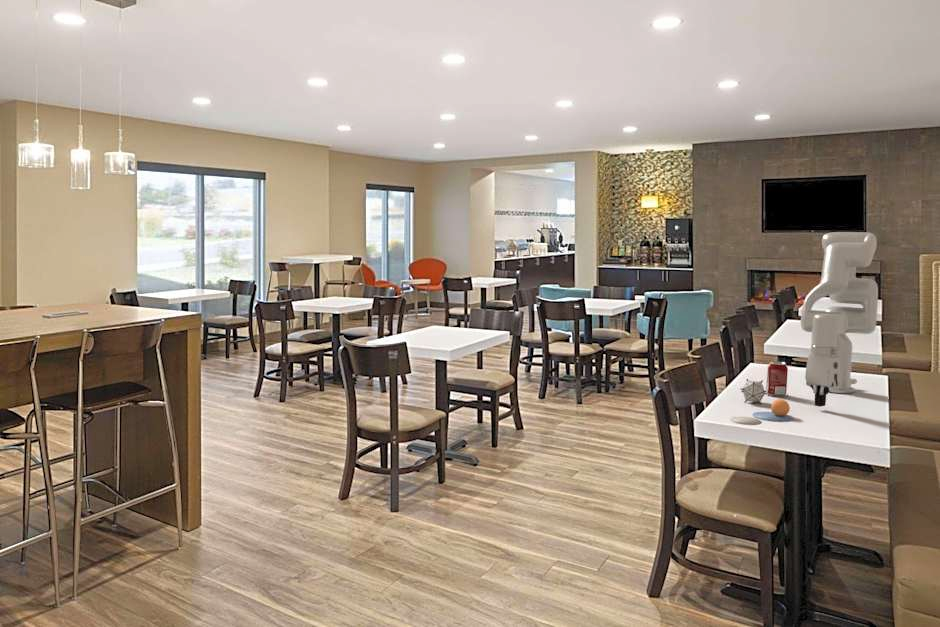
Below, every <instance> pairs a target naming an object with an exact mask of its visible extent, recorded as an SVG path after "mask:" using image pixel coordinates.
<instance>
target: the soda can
mask: <svg viewBox="0 0 940 627" xmlns="http://www.w3.org/2000/svg"><path fill="white" fill-rule="evenodd" d="M766 369H767V370H766V371H767V372H766V387H765V389H766V390H765V391H767V392H765V393H767V394H766V395H768V396H770V395H772V396H771V397H775V396H782V397H784V396H786V395H787V388H788V371H789V370H788V366H787V362H785V361H775V360H774V361H769V364H768V365H767V368H766Z"/></svg>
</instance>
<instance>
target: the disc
mask: <svg viewBox="0 0 940 627" xmlns="http://www.w3.org/2000/svg"><path fill="white" fill-rule="evenodd" d="M752 416H753V418H755V419H758V420H763V421H767V420H768V421H770V422H776V421H779V422H780V423H781V422H783V421H785V422H783V423H786V421H787V422H791V420H792V421H793V420H794V417H793V416H792V415H790V414H786V415H785V416H777V415H775V414H774V413H773V412H772V411H756V412H754V413H752ZM768 421H767V422H768ZM779 422H778V423H779Z"/></svg>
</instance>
